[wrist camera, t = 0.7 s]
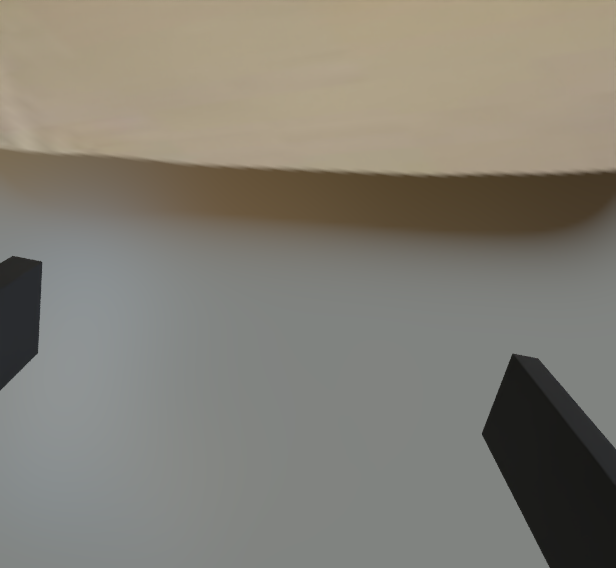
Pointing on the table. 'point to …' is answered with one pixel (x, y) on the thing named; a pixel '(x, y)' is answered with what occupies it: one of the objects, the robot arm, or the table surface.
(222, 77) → the table surface
